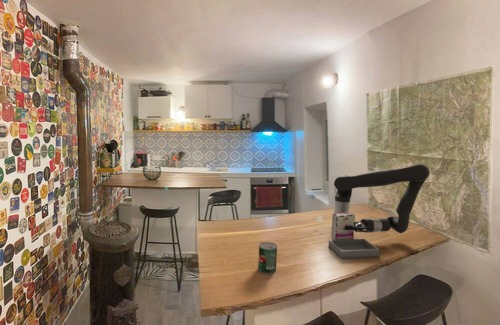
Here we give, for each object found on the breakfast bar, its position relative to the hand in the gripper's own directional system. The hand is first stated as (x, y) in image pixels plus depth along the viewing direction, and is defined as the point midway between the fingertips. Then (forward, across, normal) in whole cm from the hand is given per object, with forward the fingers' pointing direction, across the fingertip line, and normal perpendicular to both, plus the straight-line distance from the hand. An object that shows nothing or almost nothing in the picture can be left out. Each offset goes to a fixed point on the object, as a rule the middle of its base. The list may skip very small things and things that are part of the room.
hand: (342, 226), depth 162 cm
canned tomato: (+48, +25, +10) cm, 55 cm away
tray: (0, +12, +10) cm, 15 cm away
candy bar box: (0, 0, +10) cm, 10 cm away
